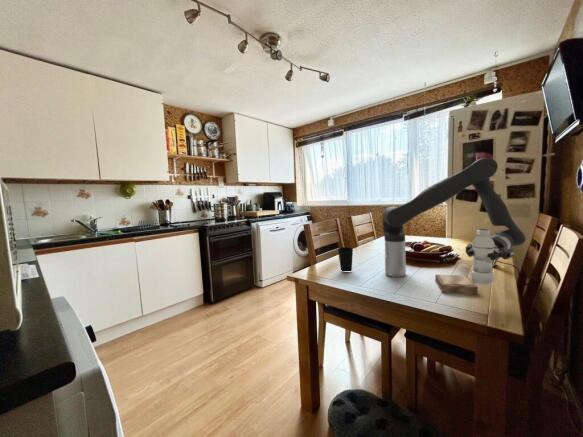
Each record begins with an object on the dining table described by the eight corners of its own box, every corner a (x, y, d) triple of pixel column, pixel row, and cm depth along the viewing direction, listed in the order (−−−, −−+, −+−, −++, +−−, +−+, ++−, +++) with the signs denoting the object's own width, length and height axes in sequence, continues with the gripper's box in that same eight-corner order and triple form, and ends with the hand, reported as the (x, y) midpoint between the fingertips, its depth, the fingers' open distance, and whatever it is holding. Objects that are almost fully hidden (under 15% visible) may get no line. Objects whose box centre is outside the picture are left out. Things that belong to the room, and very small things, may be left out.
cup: (354, 273, 129) (353, 250, 127) (338, 273, 131) (337, 251, 129) (353, 268, 136) (352, 247, 135) (339, 268, 138) (338, 247, 136)
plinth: (442, 292, 101) (442, 284, 101) (435, 281, 112) (435, 274, 112) (477, 294, 97) (477, 286, 97) (466, 282, 109) (466, 275, 108)
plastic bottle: (466, 281, 94) (467, 228, 91) (483, 279, 95) (484, 227, 92) (480, 288, 88) (481, 232, 85) (498, 286, 88) (500, 230, 86)
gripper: (474, 234, 103) (457, 242, 93) (520, 238, 92) (507, 248, 82) (473, 252, 104) (457, 262, 94) (519, 258, 93) (506, 270, 83)
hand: (480, 255), depth 88 cm, fingers closed on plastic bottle, 6 cm apart
